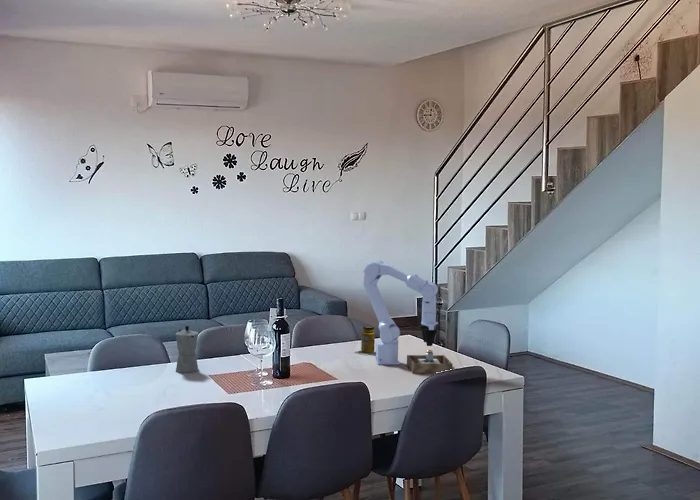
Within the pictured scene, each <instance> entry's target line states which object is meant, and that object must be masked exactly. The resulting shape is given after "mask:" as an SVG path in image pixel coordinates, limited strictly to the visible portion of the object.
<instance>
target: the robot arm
mask: <svg viewBox="0 0 700 500" xmlns="http://www.w3.org/2000/svg"><path fill="white" fill-rule="evenodd" d="M363 273H364V276H363V287H364V290H365V292H366V295H367V297H368V299H369V302H370V303H371V306H372V308H373V311H374V314H375V316H376V318H377V321H378V330H379V338H380V340H381V341H380V342H376V343H375V344H376V345H375V346H376V347H375V348H376V349H375V352H376V353H375V361H376V363H377V365H384V366H385V365H391V366H392V365H395V366H396V365H401V363H400V361H399V340H398V339H399V337H401V330H400V327H398V326H397V324H396V323H395V321H394V320H393V319H392V318H391V316H390V314H389V311H388V308H387V306H386V304H385V302H384V299H383V297H382V295H381V292H380V289H379V287H378V282H379V281H380V279H381V277H382V276H386V275H387V276H391V277H392V278H395V279H396V280H399V281H401V282H404V284H405V285H406V287H407V288H409V289H412V290H414V291H415V292H417V293H419V294H421V296H422V301H421V322H420V325H419V327H420V330H421V335H422V339H423V340H422V341H423V342H424V343H426V346H427V347H432V346H433V344H434V340H435V337H436V334H437V333H438V329H435V326H436V325H439V322H438V321H436V317H437V314H436V313H437V312H436V311H437V294H438V292H439V288H438V285H437V284H436V283H434V282H433V281H430V282H429V280H428V279H423V278H421V277H420V276H419V275H418V274H417V273H416V274H413V273H412V274H410V275H409V274H407V273H405V272H403V271H401V270H400V269H398V268H396V267H394V266H393V265H390V264H389V263H388V262H387V263H386V262H384V261H382V260H376V261H371V262H368V263H367V264H366V265H365V268H364V270H363Z"/></svg>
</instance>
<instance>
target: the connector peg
mask: <svg viewBox="0 0 700 500" xmlns="http://www.w3.org/2000/svg"><path fill="white" fill-rule="evenodd" d="M425 355H426V363H433V355H434V352H433V350H432V349H427V350H426V352H425Z"/></svg>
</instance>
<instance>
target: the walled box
mask: <svg viewBox="0 0 700 500" xmlns="http://www.w3.org/2000/svg"><path fill="white" fill-rule="evenodd" d="M407 365H408V366H407ZM406 366H407V367H408V369H409V370H410V371H411V373H412V375H415V374H414V373H430V374H431V375H434V373H436V372H441V371H445V370H450V369H452V370H453V366H454V365H453V363H452V362H451V361H450V360H449V359H448V358H447V356H445V355H444V354H439V355H437V354H436V355H435V354H433V363H426V354H423V355H422V354H407V355H406ZM430 374H429V375H430Z"/></svg>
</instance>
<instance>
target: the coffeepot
mask: <svg viewBox="0 0 700 500" xmlns="http://www.w3.org/2000/svg"><path fill="white" fill-rule="evenodd" d="M189 327H190V326H189V325H186V326H184V329H183V328H179V329H178V332H175V338H176V347H177V351H178V354H177V361H176V367H175V372H177V373H181V374H189V373H196V372H198V371H199V365H198V360H197V354H196V351H197V345H198V338H199V332H198V331H196V330H195V331H194V330H190V329H189Z"/></svg>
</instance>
